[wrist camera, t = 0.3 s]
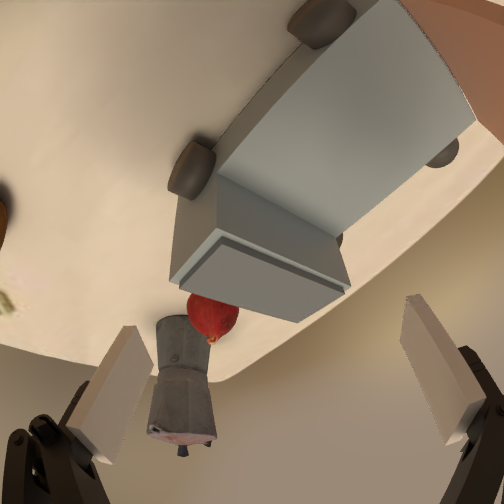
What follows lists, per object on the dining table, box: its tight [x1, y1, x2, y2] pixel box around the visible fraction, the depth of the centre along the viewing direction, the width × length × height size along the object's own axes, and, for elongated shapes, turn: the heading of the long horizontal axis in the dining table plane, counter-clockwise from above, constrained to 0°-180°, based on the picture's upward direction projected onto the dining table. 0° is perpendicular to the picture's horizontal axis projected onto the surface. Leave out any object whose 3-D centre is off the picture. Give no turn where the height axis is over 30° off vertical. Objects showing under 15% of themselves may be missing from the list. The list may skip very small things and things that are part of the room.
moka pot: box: [147, 315, 217, 457], centre depth 39 cm, size 10×15×20 cm, turn 26°
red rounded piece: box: [187, 293, 239, 344], centre depth 34 cm, size 6×6×8 cm
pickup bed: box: [168, 0, 476, 323], centre depth 19 cm, size 22×16×10 cm
